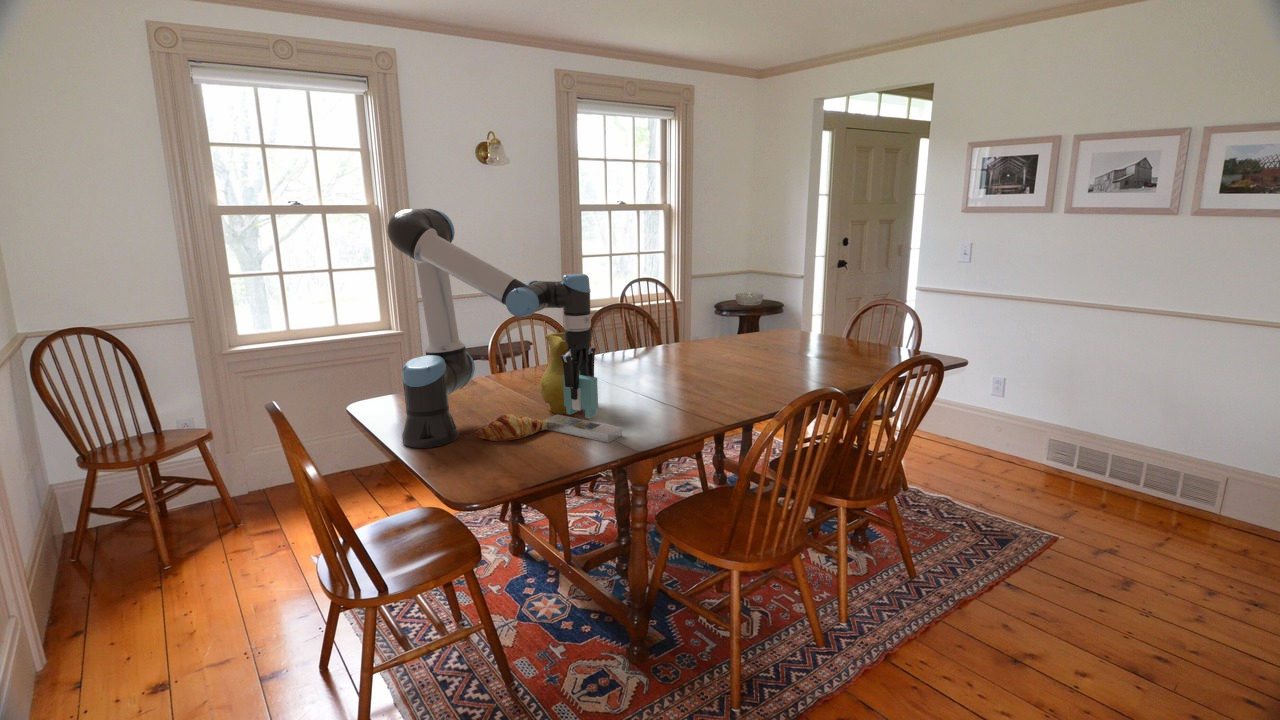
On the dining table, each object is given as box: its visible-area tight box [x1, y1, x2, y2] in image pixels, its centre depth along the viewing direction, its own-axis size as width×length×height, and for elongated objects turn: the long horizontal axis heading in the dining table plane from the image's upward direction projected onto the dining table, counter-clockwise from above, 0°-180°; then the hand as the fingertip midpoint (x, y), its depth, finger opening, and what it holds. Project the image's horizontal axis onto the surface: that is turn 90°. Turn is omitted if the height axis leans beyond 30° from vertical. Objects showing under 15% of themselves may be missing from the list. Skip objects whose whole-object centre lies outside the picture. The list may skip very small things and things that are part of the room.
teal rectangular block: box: [563, 375, 599, 419], centre depth 189 cm, size 3×10×12 cm, turn 58°
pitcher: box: [540, 332, 584, 415], centre depth 212 cm, size 17×19×25 cm
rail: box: [541, 413, 623, 444], centre depth 191 cm, size 7×24×2 cm, turn 58°
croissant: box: [474, 413, 547, 442], centre depth 189 cm, size 21×10×8 cm, turn 118°
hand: (580, 407), depth 190 cm, fingers closed on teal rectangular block, 3 cm apart
